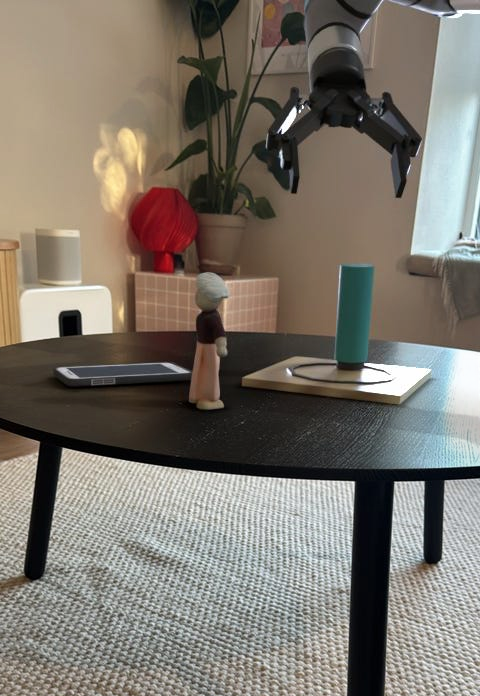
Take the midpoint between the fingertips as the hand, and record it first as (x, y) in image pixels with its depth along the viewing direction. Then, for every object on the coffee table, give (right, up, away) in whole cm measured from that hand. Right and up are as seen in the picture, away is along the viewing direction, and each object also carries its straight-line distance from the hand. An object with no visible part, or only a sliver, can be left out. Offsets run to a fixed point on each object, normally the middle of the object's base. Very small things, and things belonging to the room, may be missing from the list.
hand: (348, 187), depth 95 cm
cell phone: (-27, -26, -9) cm, 39 cm away
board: (-2, -26, -6) cm, 26 cm away
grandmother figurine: (-17, -31, -20) cm, 40 cm away
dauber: (0, -23, -3) cm, 23 cm away
